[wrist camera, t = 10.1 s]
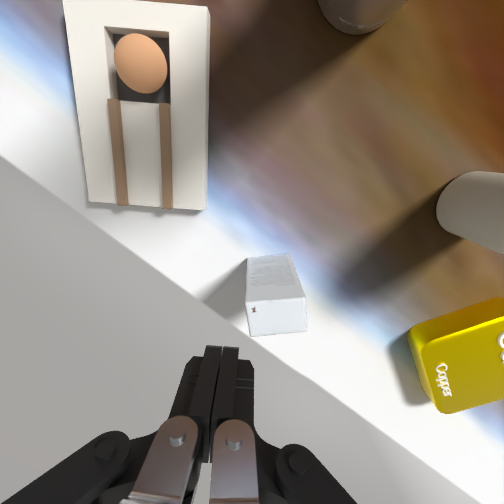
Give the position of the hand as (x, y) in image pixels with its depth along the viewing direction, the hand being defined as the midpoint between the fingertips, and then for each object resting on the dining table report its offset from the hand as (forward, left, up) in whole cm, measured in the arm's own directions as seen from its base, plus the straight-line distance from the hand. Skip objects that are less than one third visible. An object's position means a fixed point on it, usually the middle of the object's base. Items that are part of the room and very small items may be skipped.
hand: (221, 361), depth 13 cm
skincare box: (+6, +4, -25) cm, 26 cm away
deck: (-12, -12, -25) cm, 30 cm away
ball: (-16, -11, -22) cm, 30 cm away
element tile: (+17, +35, -26) cm, 47 cm away
